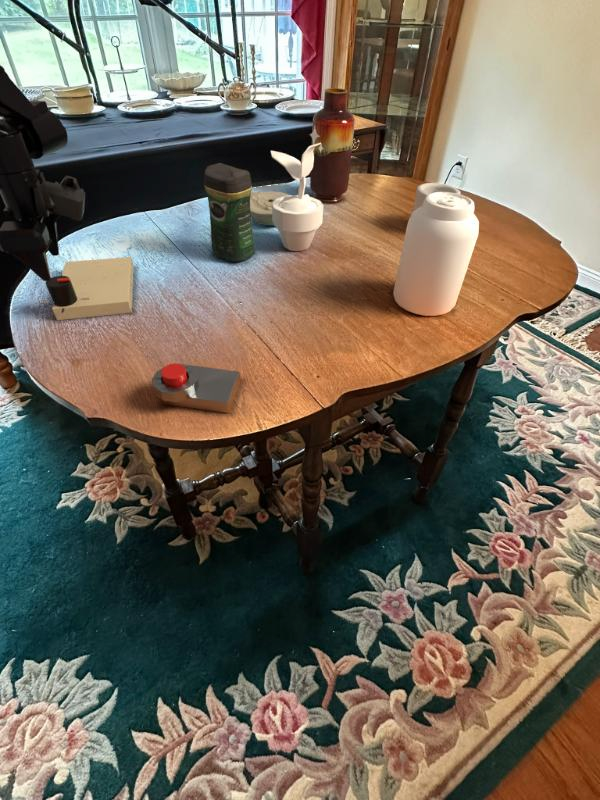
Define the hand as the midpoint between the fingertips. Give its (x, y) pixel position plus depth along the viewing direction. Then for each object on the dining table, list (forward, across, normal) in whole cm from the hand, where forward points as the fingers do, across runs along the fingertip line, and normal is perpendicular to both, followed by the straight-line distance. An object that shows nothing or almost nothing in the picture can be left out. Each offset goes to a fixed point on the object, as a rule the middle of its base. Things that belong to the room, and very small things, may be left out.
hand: (51, 267), depth 74 cm
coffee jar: (+9, +18, -33) cm, 39 cm away
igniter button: (+6, -27, -19) cm, 33 cm away
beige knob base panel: (+9, +6, -4) cm, 12 cm away
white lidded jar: (+9, -9, -68) cm, 69 cm away
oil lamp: (+9, +38, -43) cm, 58 cm away
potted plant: (+9, +20, -48) cm, 53 cm away
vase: (+9, +49, -65) cm, 82 cm away
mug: (+9, +24, -86) cm, 90 cm away
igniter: (+9, -27, -22) cm, 36 cm away
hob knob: (+7, 0, 0) cm, 7 cm away
